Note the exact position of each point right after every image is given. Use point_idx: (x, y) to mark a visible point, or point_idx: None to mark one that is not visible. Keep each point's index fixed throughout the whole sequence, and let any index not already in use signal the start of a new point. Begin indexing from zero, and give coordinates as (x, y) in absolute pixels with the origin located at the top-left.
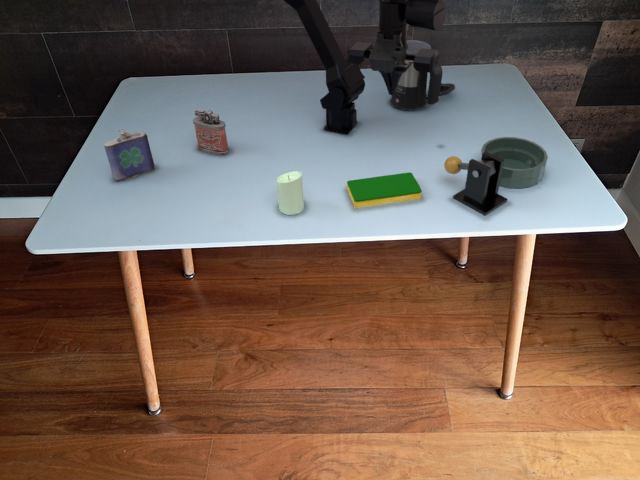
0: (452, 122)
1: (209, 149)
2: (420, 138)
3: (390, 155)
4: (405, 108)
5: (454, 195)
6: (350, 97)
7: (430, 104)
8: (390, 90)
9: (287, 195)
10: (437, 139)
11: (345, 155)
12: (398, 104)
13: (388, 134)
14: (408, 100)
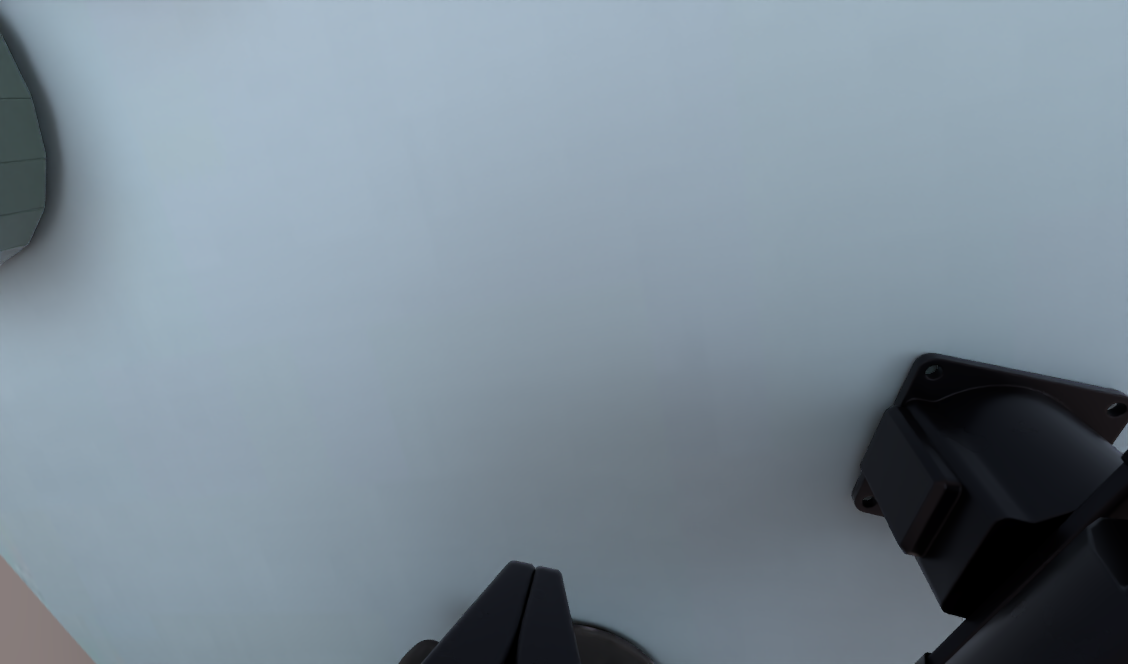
0: (334, 534)
1: None
2: (439, 376)
3: (572, 141)
4: (577, 633)
5: None
6: (1116, 580)
7: (428, 640)
8: (526, 621)
9: None
10: (351, 377)
11: (930, 56)
12: (616, 660)
13: (630, 396)
14: None
